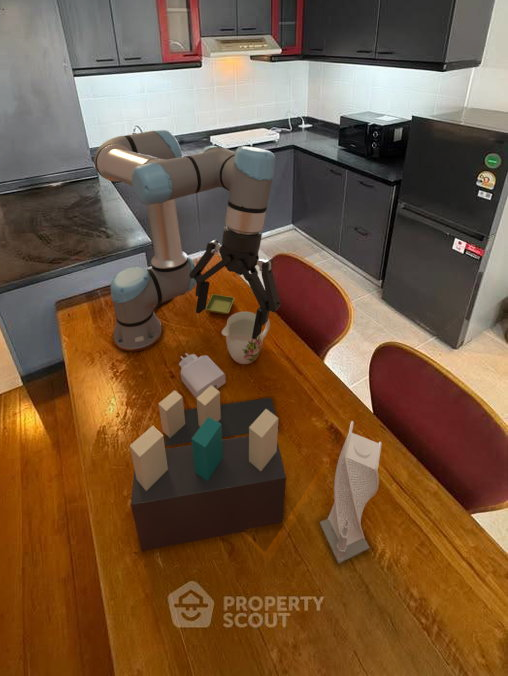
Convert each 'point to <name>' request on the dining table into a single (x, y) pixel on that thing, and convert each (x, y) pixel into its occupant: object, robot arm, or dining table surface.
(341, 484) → the skyscraper
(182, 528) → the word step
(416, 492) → the dining table surface
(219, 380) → the charger
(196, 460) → the upright teal pillar
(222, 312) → the green square dish
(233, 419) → the dark grey block
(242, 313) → the pitcher
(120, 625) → the dining table surface
